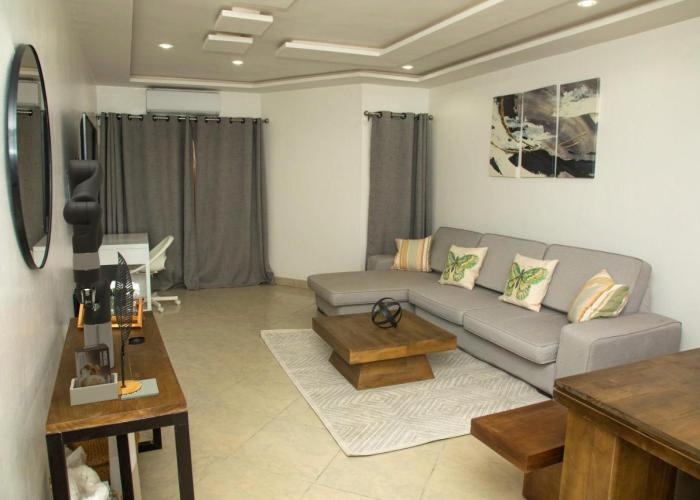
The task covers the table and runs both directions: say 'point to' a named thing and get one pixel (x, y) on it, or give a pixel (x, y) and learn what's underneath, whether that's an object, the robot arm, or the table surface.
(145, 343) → the table surface
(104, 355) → the coffee box
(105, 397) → the open box
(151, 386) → the mat
